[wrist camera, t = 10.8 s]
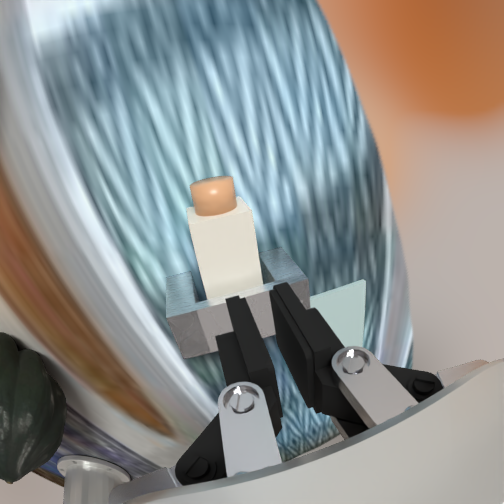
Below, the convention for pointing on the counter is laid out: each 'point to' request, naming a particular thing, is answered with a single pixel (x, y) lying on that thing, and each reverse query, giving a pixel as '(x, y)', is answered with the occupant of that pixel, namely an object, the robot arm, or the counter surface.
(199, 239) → the plug
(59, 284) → the counter surface
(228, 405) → the robot arm
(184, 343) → the housing
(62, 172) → the counter surface
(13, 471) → the squash
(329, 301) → the mat
